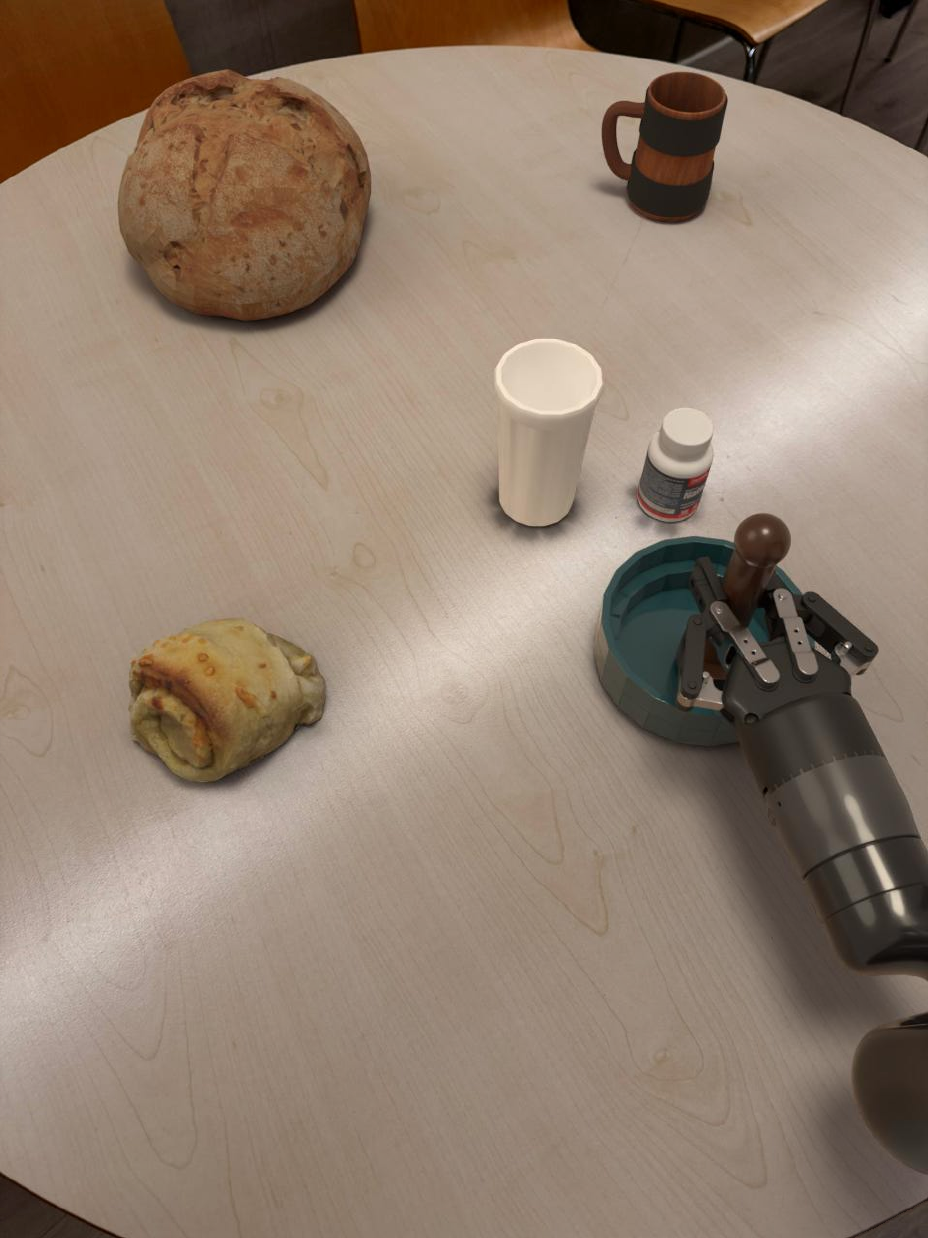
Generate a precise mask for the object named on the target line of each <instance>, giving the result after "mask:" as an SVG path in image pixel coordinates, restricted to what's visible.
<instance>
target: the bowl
mask: <svg viewBox="0 0 928 1238" xmlns="http://www.w3.org/2000/svg"><path fill="white" fill-rule="evenodd" d="M734 548H735V547H734V541H731V540H728V539H723V538H714V537H709V536H708V537H707V536H698V535H690V536H682V537H675V538H666V539H663V540H660V541H658V542H656V543H653V544H651V545H648V546H646V547H644V548H641V549H639V550H637V551H635V552H634V553H633V554H632V555H631V556H630V557H628V559H626V560H625V561H624V562H623V563H622V564H621V565H620V566H619V567H617V569H615V570H614V573H613V575H612V577H611V579H610V581H609V583H608V585H607V586H606V589H605V590H604V593H603V595H602V598H601V603H600V608H599V613H598V618H597V622H596V627H595V633H594V635H595V637H594V646H593V658H594V661H595V665H596V669H597V672H598V677H599V680H600V682H601V684H602V685H603V687H604V688H605V690H606V692H607V693H608V694H609V696H610V698H611V699H612V701H613V702H614V704H615V705H616V707H617V708H619V709H620V710H621V711H622V712H623V713H625V714H626V715H627V716H628V717H629V718H630V719H632V720H633V721H634V722H636V723H637V725H639V726H641V728H644V730H647V731H649V732H651V733H653V734H656V735H658V736H660V737H663V738H664V739H665V738H666V739H667V740H670V741H672V742H675V743H680V744H687V745H696V746H702V747H713V746H717V745H726V744H731V743H732V744H733V743H739V739H738V736H737V733H736V731H735V730H734V728H733V727H732V726H731V725H730V724H729V723H728V722H727V721H725V720H724V719H723V718H722V716H721V715H720V713H719V710H713V709H707V708H702V707H696V706H694V708H693V709H692V710H691V711H689V712H682V711H680V710H679V709H678V708H677V707H676V705H675V699H676V689H677V679H678V668H677V664H676V652H677V649H678V646H679V644H680V641H681V638H682V635H683V633H684V632H685V630H686V627H687V622H688V619H689V617H690V616H691V615H694V614H701V613H700V611H699V608H698V606H697V604H696V602H695V599H694V597H693V595H692V592H691V590H690V588H689V578H690V575H691V572H692V569H693V567H694V566H695V563H696V560H697V559H698V558H703V557H709V558H710V560H711V562H712V565H713V567H714V569H715V571H716V573H717V576H718V578H719V580H720V582H721V581H722V579H723V576H724V574H725V571H726V569H727V566H728V563H729V561H730V558H731V556H732V553H733V551H734ZM775 571H776V573H777V575H778V577H779V579H780V581H781V583H782V585H783V587H784V589H786V590H788V591H789V592H790V593H791V594H797V595H804V593H802V591H801V590H800V588H799V587H798V586H797V585H796V584H795V582H793V581H792V579H791V578H790V577H789V576H788V574H787V573H786V572H785V570H784V569H782V568H781V567H780V566H778V564H777V565H776V568H775ZM764 612H765V609H764V608H760V609H758V607H757V609H756V611H755V613H754V616H753V618H752V620H751V622H750V624H749V626H748V630H749V631H750V633H751V634H752V636H753V637H754V639H755V640H756V642H769V641H770V636H769V632H768V628H767V625H766V621H765V617H764ZM806 634H807V633H806ZM807 637H808V641H809V644H810V646H811V647H812V648H814V649H816V641H815V640H814V639H812V638H811V637H810V636H809V635H808V634H807Z"/></svg>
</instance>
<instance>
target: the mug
mask: <svg viewBox="0 0 928 1238" xmlns="http://www.w3.org/2000/svg"><path fill="white" fill-rule="evenodd" d="M728 101H729V99H728V95H727V93H726V91H725V89H724V87H723V86H722V85H721V84H720V82H718V81H716V80H715V79H713V78H712V77H709V76H707V75H705V74H701V73H697V72H691V71H672V72H667V73H664V74H661V75H659V76H657V77H655V78H654V79H653V80H652V81H651V82H650V83H649V85H648V86H647V87H646V90H645V96H644V102H636V101H631V100H618V101H615V102H614V103H612V104H611V105H610V106H609V107H608V108H606V111H605V113H604V115H603V117H602V122H601V144H602V150H603V156H604V159H605V161H606V164H607V166H608V169H609V170H610V171H611V173H612V174H613V175H615V176H616V177H617V178H619V179H621V180H623V181H626V182H627V184H626V194H627V197H628V199H629V202H630V203H631V205H632V206H633V208H634V209H635V211H637V212H638V213H640V214H641V215H643V216H644V217H647V218H649V219H651V220H655V221H657V222H658V221H659V222H665V223H667V222H668V223H672V222H673V223H675V222H681V221H686V220H687V219H690V218H692V217H694V216H695V215H696V214H698V213H699V211H701V210H702V209H703V208H704V207H705V206H706V204H707V203H708V200H709V196H710V193H711V189H712V183H713V177H714V170H715V159H714V158H715V153H716V148H717V146H718V145H719V143H720V140H721V136H722V132H723V131H722V130H723V125H724V120H725V117H726V112H727V107H728ZM619 117H626V118H631V119H640V121H639V126H638V134H639V135H638V139H637V145H636V148H635V150H634V151H633V154H632V158H631V163H626V162H625V161H624V160H623V158H622V156H621V153H620V149H619V145H618V136H617V125H618V119H619Z"/></svg>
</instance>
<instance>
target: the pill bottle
mask: <svg viewBox="0 0 928 1238" xmlns="http://www.w3.org/2000/svg"><path fill="white" fill-rule="evenodd" d="M714 431H715V430H714V423H713V421H712V420H711V418H710V417H709V416H708V415H707V414H706V413H704V412H702V411H701V410H699V409H696V408H692V407H678V408H675V409H672V410H670V411H669V412H668V413H667V414H665V415H664V417H663V419H662V423H661V426H660V429H658V431H656V433H654V434H653V436H651V439H650V441H649V444H648V446H647V450H646V455H645V458H644V459H645V460H644V463H643V467H642V470H641V475H640V479H639V482H638V485H637V490H636V498H637V502H638V504H639V507H640V508H641V509H642V511H643V512H644V513H646V514H647V515H648V516H649V517H651V518H653V519H655V520H658V521H662V522H665V523H667V522H668V523H675V522H681V521H683V520H686V519H688V518H690V517H691V516H692V515H694V513H696V511H697V509H698V506H699V504H700V502H701V498H702V495H703V493H704V490H705V486H706V483H707V481H708V477H709V473H710V472H711V471H710V470H711V468H712V465H713V461H714V456H715V451H714V446H713V444H712V440H713V436H714Z"/></svg>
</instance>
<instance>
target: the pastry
mask: <svg viewBox="0 0 928 1238" xmlns="http://www.w3.org/2000/svg"><path fill="white" fill-rule="evenodd" d="M128 688H129V691H130V701H129V704H128V712H129V721H130V726H129V728H130V731H131V739H132V740H133V741H134V742H138V743H139V744H140V745H141V746H142V747H143V748H144V750H146V751H147V752H149V753H151V755H153V756H157V757H158V758H159V759H161V760H162V763H163V764H164V765H165V766H166V767H167V768H168V769H169V770H170V771H171V772H172V773H174V774H175V775H177V776H179V777H180V778H183V779H185V780H187V781H191V782H198V783H208V782H213V781H217V780H220V779H223V778H224V777H225V776H227V775H228V774H230V773H232V772H234V771H239V770H241V769H243V768H245V767H249V766H251V765H252V764H253V763H256V762H257V761H261V759H263V758H265V757H266V756H267V754H268V753H270V752H272V751H275V750H276V749H277V748H279V747H280V746H281V745H282V744H283V743H285V742H286V741H287V740H288V739H289V737H290V736H291V735H292V733H293V732H295V733H297V729H298V728H299V726H300V725H303V726H307V727H308V726H312V724H313V723H316V722H317V721H319V720H320V719H321V717H322V715H323V711H324V710H323V707H324V705H325V697H326V691H327V682H326V679H325V677H324V676H323V675H322V674H321V672H320V669H319V667H318V661H317V658H316V657H315V656H314V655H313V654H311V653H309V652H307V651H305V649H303V648H302V647H300V646H298V645H296V644H294V643H293V642H291V641H288V640H286V639H284V638H282V637H280V636H278V635H275V634H272V633H269V632H266V630H264V629H263V628H262V627H261V626H259V625H257V624H256V623H254V622H253V621H250V620H247V619H244V618H243V617H234V618H232V617H231V618H219V619H214V620H213V619H212V620H207V621H204V622H201V623H197V624H195V625H193V626H190V627H186V628H184V629H182V630H181V631H180V632H178V633H175V634H171V635H168V636H165V637H162V638H160V639H157V640H155V641H154V642H153V643H152V644H151V645H149V646H148V647H146V648H144V649H143V651H142V652H141V653H140V654H139V655H138V656H137V657H135V658H134V659H132V660H131V662H130V668H129V674H128Z"/></svg>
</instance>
